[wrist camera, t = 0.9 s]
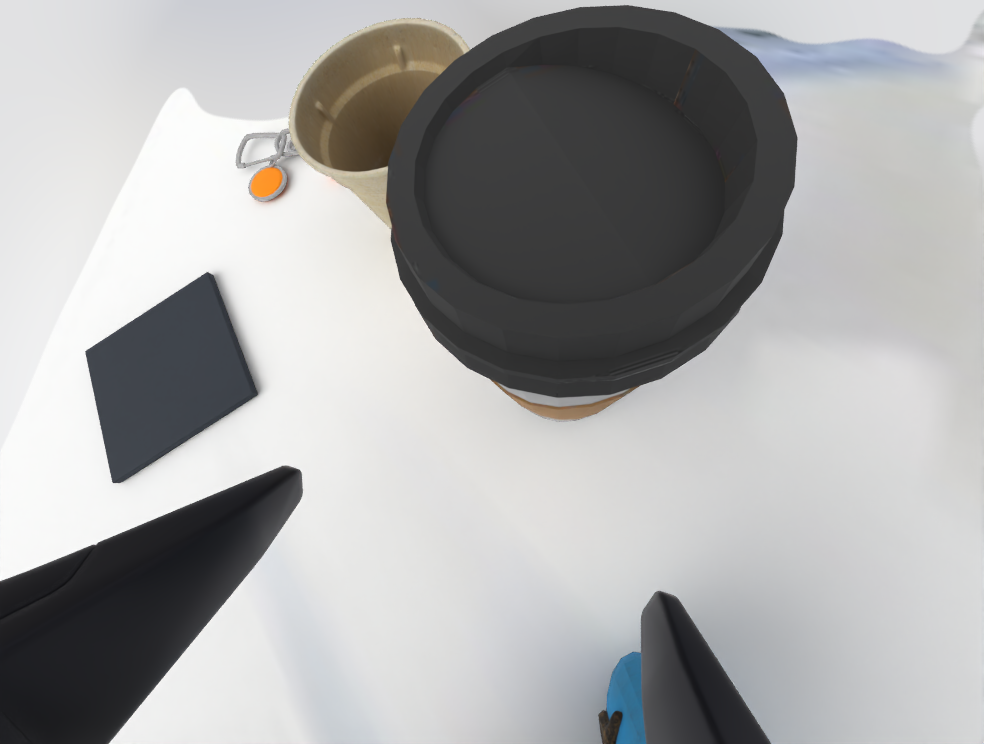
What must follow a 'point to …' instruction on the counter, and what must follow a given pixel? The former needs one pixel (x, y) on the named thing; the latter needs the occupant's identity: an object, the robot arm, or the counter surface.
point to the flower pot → (367, 101)
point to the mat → (167, 377)
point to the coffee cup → (590, 201)
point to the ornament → (624, 704)
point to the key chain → (267, 167)
